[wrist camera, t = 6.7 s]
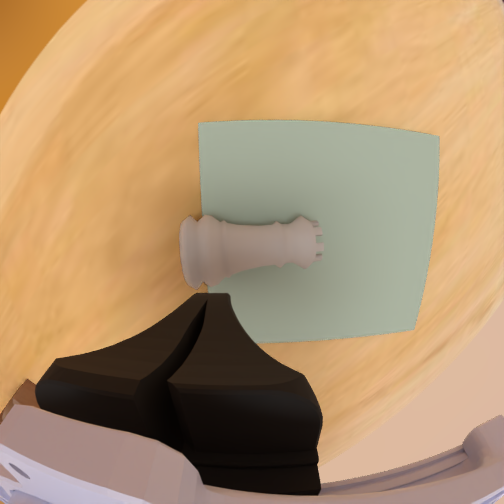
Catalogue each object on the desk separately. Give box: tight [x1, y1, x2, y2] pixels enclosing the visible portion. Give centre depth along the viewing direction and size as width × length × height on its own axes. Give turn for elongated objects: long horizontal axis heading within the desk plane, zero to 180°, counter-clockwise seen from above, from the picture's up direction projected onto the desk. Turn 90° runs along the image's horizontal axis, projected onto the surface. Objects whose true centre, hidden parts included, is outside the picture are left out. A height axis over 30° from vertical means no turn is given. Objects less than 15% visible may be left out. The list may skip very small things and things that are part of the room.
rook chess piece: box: [179, 215, 324, 290], centre depth 18 cm, size 4×4×8 cm
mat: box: [198, 120, 439, 343], centre depth 20 cm, size 16×17×1 cm
